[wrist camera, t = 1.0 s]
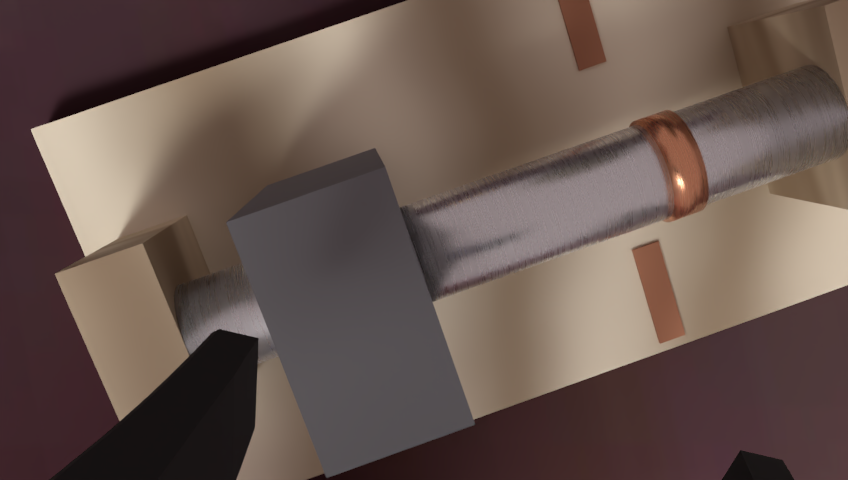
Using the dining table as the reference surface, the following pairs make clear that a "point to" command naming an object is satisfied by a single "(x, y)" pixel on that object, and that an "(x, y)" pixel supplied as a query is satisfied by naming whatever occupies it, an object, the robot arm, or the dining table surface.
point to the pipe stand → (451, 184)
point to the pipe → (582, 194)
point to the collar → (350, 312)
